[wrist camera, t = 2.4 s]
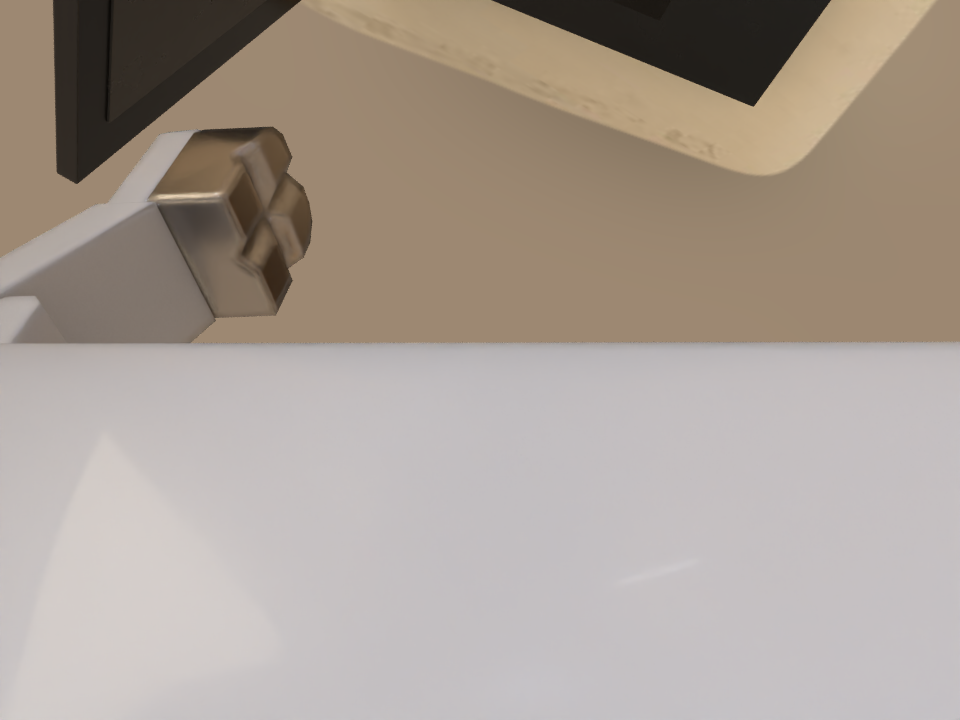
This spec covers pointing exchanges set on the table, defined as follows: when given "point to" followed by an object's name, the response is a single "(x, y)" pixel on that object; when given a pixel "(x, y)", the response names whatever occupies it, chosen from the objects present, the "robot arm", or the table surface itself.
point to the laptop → (691, 35)
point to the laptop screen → (138, 65)
